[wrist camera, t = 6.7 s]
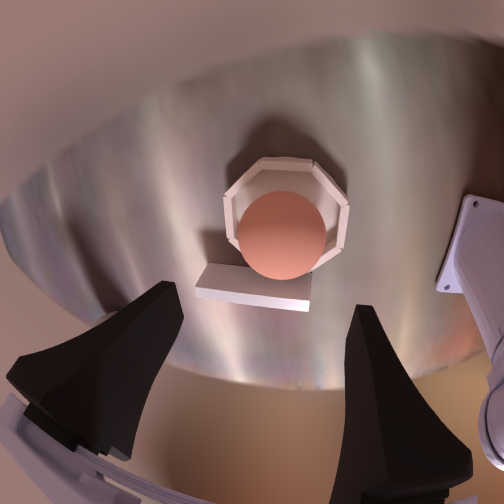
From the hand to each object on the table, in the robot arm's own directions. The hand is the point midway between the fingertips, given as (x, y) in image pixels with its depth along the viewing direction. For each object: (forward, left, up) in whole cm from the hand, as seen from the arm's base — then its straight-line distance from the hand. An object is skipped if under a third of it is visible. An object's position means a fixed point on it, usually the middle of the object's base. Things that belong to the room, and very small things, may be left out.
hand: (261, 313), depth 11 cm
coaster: (0, 0, -9) cm, 9 cm away
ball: (0, 0, -9) cm, 9 cm away
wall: (+2, +5, -9) cm, 11 cm away
